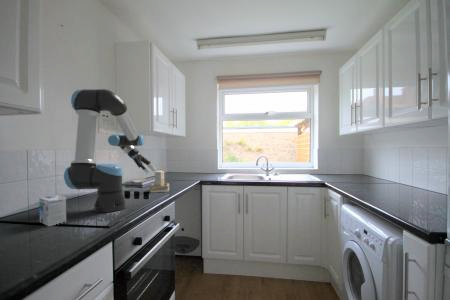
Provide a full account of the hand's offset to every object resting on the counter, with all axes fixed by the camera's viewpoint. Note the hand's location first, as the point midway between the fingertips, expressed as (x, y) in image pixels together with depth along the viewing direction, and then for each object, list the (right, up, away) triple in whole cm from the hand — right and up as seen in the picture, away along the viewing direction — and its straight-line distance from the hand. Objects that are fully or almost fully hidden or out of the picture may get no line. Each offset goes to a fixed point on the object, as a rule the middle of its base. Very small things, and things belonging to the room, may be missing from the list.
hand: (151, 171), depth 171 cm
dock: (+6, -14, 0) cm, 15 cm away
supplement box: (+6, -13, -1) cm, 14 cm away
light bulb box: (-21, -16, -70) cm, 75 cm away
